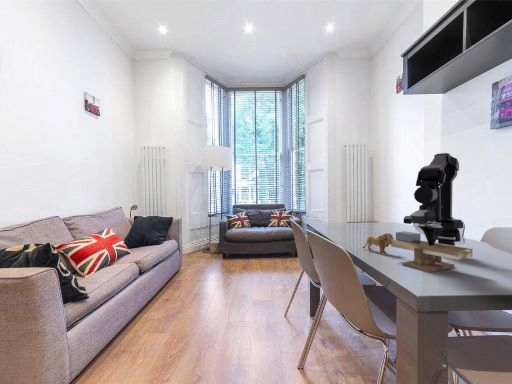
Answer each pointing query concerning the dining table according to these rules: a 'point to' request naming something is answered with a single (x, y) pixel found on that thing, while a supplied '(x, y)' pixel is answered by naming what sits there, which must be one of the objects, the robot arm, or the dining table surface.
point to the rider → (408, 237)
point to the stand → (427, 262)
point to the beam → (436, 249)
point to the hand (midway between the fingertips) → (431, 245)
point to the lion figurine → (380, 241)
